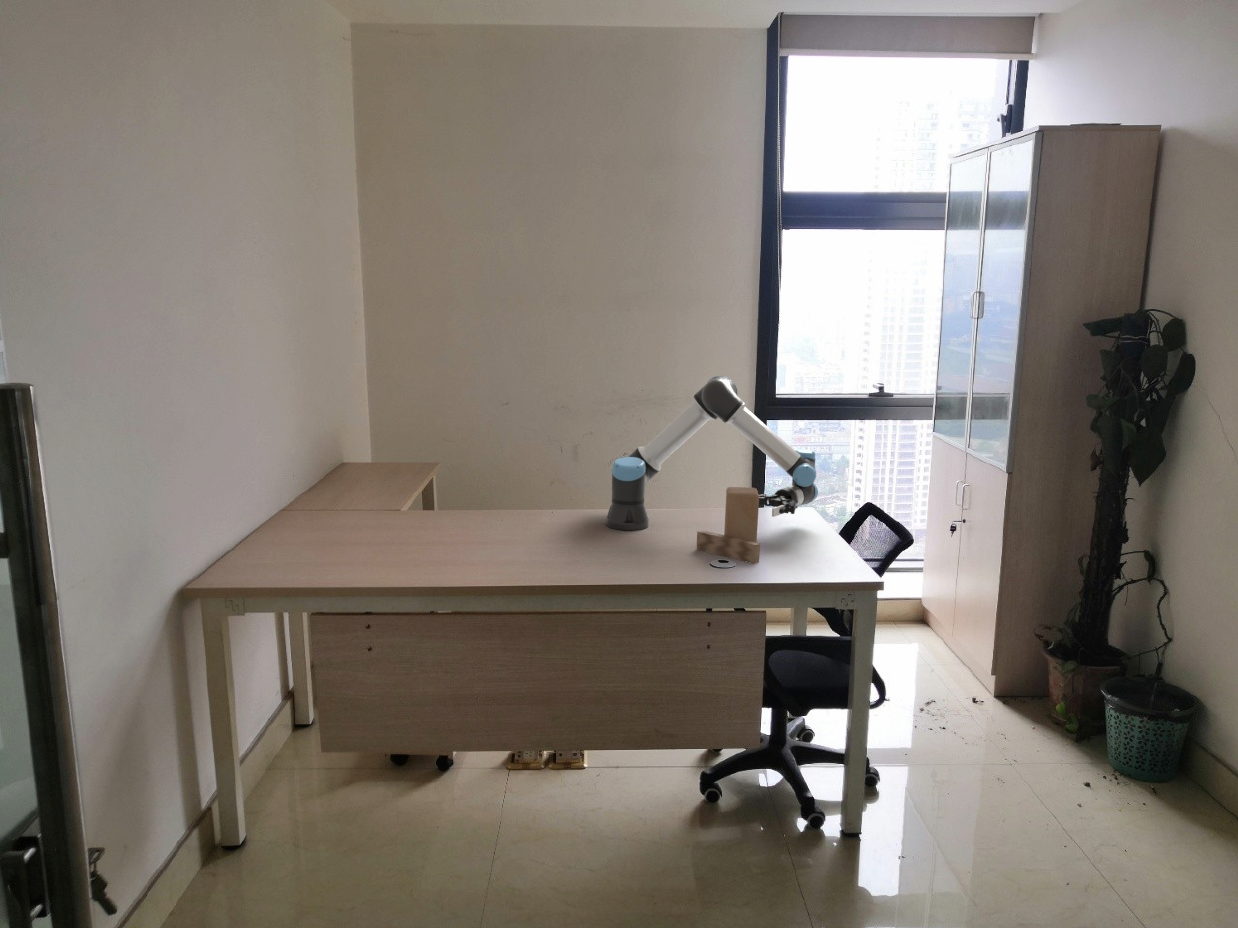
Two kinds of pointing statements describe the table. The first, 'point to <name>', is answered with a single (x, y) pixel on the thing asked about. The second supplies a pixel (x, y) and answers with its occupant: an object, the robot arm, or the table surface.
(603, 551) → the table surface
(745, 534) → the block
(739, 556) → the board
